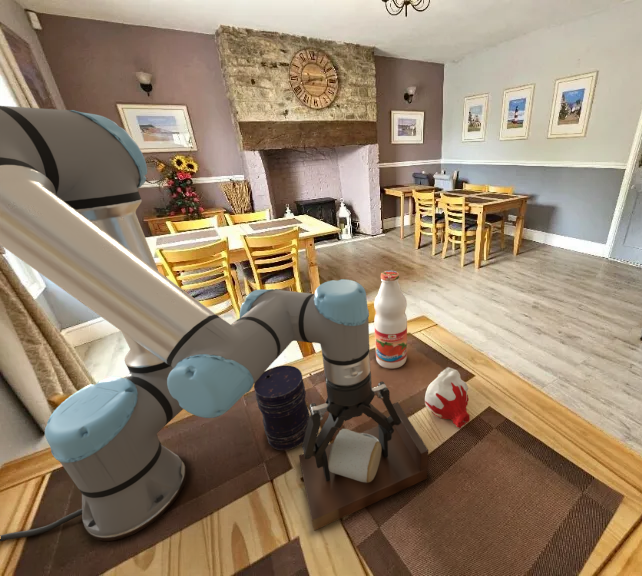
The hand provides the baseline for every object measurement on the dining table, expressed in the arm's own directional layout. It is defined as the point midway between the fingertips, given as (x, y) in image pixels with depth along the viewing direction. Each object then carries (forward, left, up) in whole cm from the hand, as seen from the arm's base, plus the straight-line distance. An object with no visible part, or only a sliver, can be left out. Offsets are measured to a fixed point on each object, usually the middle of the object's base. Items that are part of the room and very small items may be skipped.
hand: (356, 462), depth 60 cm
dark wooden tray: (+1, 0, -3) cm, 3 cm away
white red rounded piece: (+25, +6, -3) cm, 26 cm away
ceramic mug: (+1, 0, 0) cm, 1 cm away
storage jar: (-11, +16, -3) cm, 20 cm away
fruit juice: (+21, +30, -3) cm, 37 cm away
